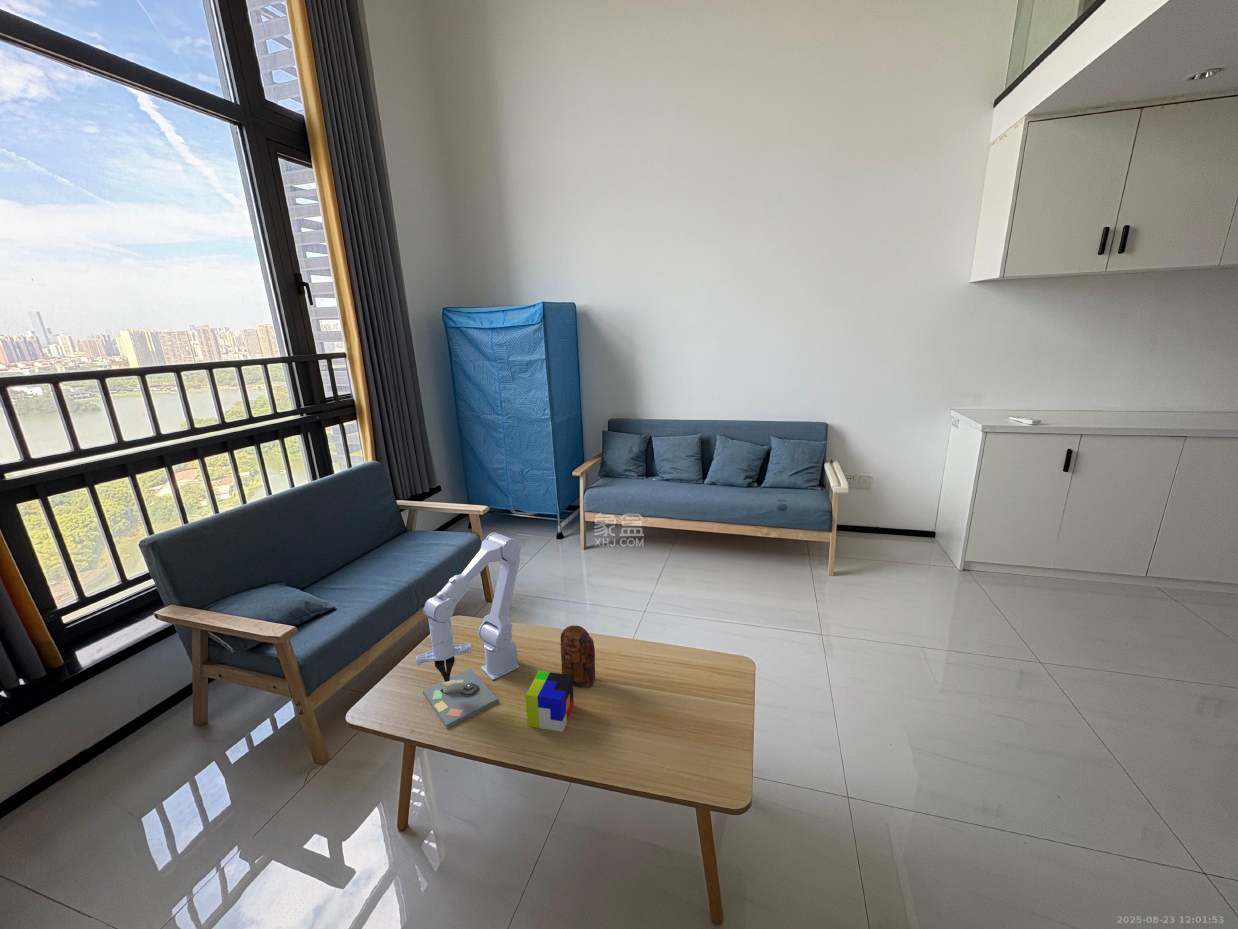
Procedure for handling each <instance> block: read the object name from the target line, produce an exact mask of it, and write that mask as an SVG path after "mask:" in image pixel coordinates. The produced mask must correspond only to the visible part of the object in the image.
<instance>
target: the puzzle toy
mask: <svg viewBox="0 0 1238 929" xmlns="http://www.w3.org/2000/svg"><path fill="white" fill-rule="evenodd" d="M574 702H575V700H574V686H573V675H568V674H562V673H558V672H551V671H542V670H538V672H537V674H536V675H535V677H534V679H533V681H532V682H531V685H530V686H529V688H528V690H527V692H526V693H525V705H526V706H525V707H526V720H527V727H528V728H529V727H530V728H535V729H536V728H537V729H542V730H550V731H555V732H556V731H557V732H562V733H563V732H564V731H565V728H566V725H567V723H568V721H569V718H570V716H571V713H572V710H573V708H574V707H575V703H574Z"/></svg>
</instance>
